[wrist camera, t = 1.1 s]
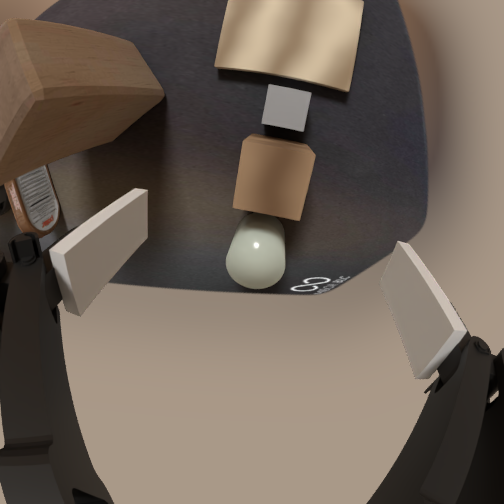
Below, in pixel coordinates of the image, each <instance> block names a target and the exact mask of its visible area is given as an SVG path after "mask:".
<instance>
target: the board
mask: <svg viewBox="0 0 504 504" xmlns="http://www.w3.org/2000/svg"><path fill="white" fill-rule="evenodd" d="M363 4H364V1H361V0H228V5H227V9H226V13H225V17H224V22H223V26H222V31H221V36H220V41H219V45H218V50H217V56H216V61H215V66H214V67H216V68H218V69H229V70H239V71H247V72H255V73H262V74H268V75H274V76H280V77H285V78H290V79H295V80H300V81H304V82H309V83H313V84H317V85H321V86H325V87H329V88H332V89H336V90H339V91H343V92H349V89H350V84H351V79H352V73H353V68H354V63H355V57H356V51H357V45H358V39H359V32H360V26H361V19H362V11H363Z"/></svg>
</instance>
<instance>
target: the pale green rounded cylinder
mask: <svg viewBox="0 0 504 504" xmlns="http://www.w3.org/2000/svg"><path fill="white" fill-rule="evenodd" d="M226 267H227V270H228V273H229V274H230V276H231V277H232V278H233V279H234V280H235V281H236V282H237V283H239V284H240V285H242V286H244V287H247V288H252V289H263V288H267V287H270V286H272V285H274V284H275V283H276V282H278V281H279V280H280V278H281V277H282V275H283V273H284V270H285V231H284V228H283V225H282V224H281V222H280V221H279V220H278V219H277V218H276V217H274V216H273V215H268V214H263V213H258V212H256V213H251V214H249V215H247V216H245V217H244V218H243V219H242V220H241V221H240V223H239V224H238V227H237V229H236V232H235V235H234V238H233V240H232V243H231V246H230V249H229V252H228V255H227V258H226Z"/></svg>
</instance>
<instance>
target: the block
mask: <svg viewBox="0 0 504 504" xmlns="http://www.w3.org/2000/svg"><path fill="white" fill-rule="evenodd" d="M164 96H165V95H164V91H163V88H162V87H161V85H160V84H159V82H158V81H157V79H156V78H155V76H154V75H153V73H152V71H151V70H150V68H149V67H148V65H147V64H146V62H145V61H144V59H143V58H142V56H141V55H140V53H139V51H138V50H137V48H136V47H135V45H134V44H133V43H132V42H130V41H127V40H124V39H121V38H117V37H114V36H110V35H107V34H103V33H100V32H96V31H92V30H88V29H83V28H79V27H74V26H69V25H64V24H59V23H53V22H46V21H39V20H30V19H19V18H11V19H8V20H6V21H5V22H4V23H3V24H2V25H1V26H0V186H1V185H3V184H5V183H7V182H9V181H11V180H13V179H15V178H17V177H19V176H21V175H24V174H26V173H28V172H30V171H32V170H35V169H37V168H39V167H42V166H44V165H46V164H49V163H51V162H54V161H56V160H59V159H61V158H64V157H67V156H70V155H72V154H75V153H78V152H81V151H84V150H87V149H90V148H93V147H96V146H99V145H102V144H105V143H109V142H112V141H114V140H115V139H116V138H117V137H118V136H119V135H120V134H121V133H122V132H124V131H125V130H126V129H127V128H128V127H129V126H130V125H132V124H133V123H134V122H135V121H136V120H138V119H139V118H140V117H141V116H142V115H144V114H145V113H146V112H147V111H149V110H150V109H151V108H153V107H154V106H155V105H156V104H158V103H159V102H160V101H161V100H162V99H163V97H164Z"/></svg>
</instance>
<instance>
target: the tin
mask: <svg viewBox="0 0 504 504" xmlns="http://www.w3.org/2000/svg"><path fill="white" fill-rule="evenodd" d="M4 185H5V189H6V192H7V195H8V198H9V201H10V204H11V207H12V210H13V213H14V216H15V219H16V221H17V224H18V226H19V228H20V229H21V231H22V232H23V233H24V232H35V233H37V234H38V237H39V238H42V237H43V236H45V235H48V234H49V233H51V232H52V231H53V230H54V229H55V227H56V226H57V224H58V221H59V216H60V206H59V201H58V198H57V195H56V192H55V189H54V186H53V183H52V180H51V177H50V173H49V170H48V166H47V164H46V165H44V166H42V167H39V168H37V169H35V170H32V171H30V172H28V173H26V174H24V175H21V176H19V177H17V178H15V179H13V180H11V181H9V182H7V183H5V184H4Z"/></svg>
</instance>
